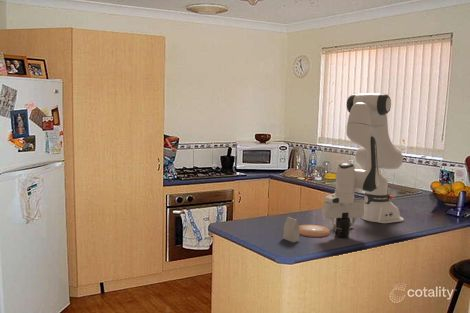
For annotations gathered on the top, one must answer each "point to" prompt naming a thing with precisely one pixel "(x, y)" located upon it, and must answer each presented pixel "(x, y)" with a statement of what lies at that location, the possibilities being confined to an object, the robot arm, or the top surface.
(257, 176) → the top surface
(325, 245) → the top surface
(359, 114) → the robot arm
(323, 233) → the peach rimmed plate
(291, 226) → the tea bag
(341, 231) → the supplement bottle
